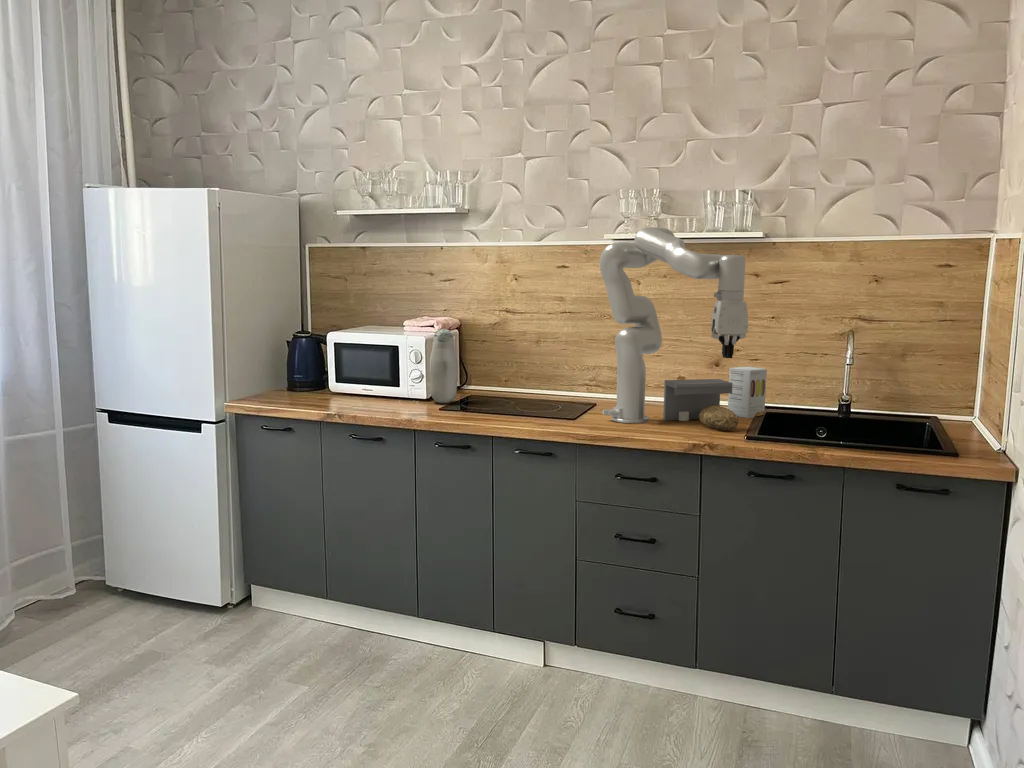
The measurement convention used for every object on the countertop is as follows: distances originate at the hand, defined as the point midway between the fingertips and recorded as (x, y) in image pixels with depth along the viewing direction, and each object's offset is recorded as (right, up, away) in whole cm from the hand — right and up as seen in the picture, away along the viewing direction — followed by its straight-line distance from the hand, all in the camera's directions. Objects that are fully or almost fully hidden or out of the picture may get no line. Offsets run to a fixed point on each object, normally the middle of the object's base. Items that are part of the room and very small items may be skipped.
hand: (727, 357), depth 253 cm
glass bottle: (-91, -15, +64) cm, 112 cm away
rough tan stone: (+3, -22, +21) cm, 31 cm away
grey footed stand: (-3, -20, +32) cm, 38 cm away
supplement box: (+18, -19, +43) cm, 50 cm away
